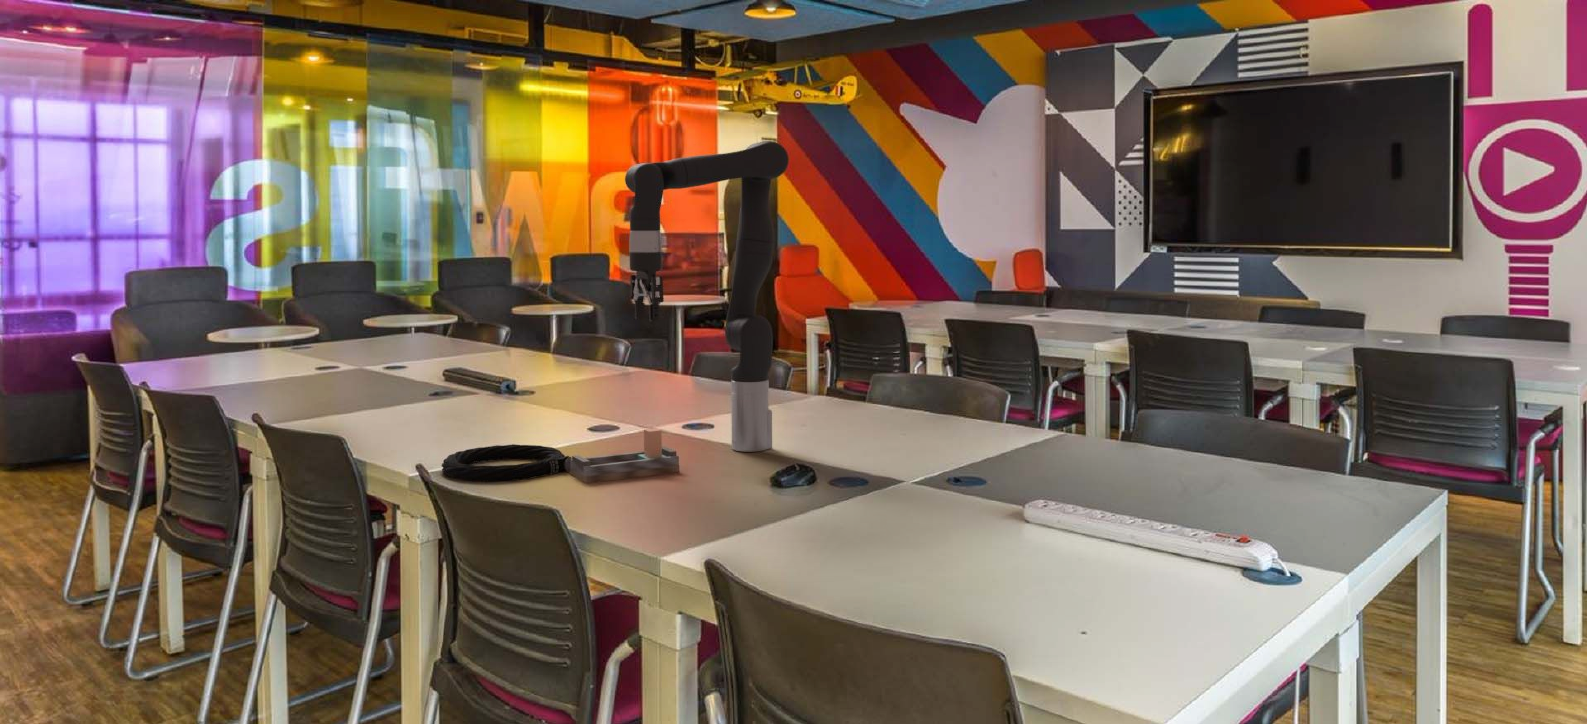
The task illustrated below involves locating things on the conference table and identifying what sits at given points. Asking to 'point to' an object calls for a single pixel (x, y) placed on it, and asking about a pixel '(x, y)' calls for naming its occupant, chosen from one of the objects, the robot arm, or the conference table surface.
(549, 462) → the cable lock
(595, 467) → the board
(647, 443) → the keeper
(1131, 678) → the conference table surface
